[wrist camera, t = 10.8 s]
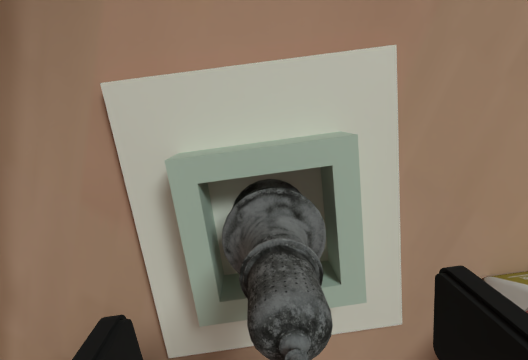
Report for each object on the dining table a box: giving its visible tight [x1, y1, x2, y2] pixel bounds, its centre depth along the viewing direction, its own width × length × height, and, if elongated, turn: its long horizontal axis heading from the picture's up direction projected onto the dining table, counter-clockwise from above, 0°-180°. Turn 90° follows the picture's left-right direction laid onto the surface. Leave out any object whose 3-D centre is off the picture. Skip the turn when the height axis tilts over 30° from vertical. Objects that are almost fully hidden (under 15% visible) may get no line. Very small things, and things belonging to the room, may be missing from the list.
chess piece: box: [222, 179, 333, 360], centre depth 14 cm, size 6×6×12 cm
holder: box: [100, 45, 402, 358], centre depth 19 cm, size 20×18×4 cm
